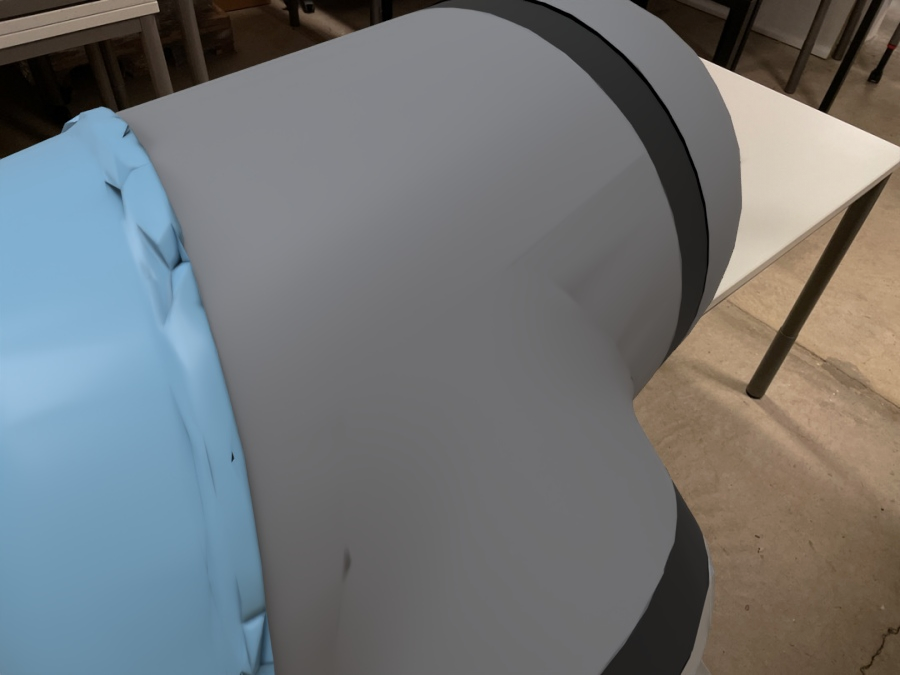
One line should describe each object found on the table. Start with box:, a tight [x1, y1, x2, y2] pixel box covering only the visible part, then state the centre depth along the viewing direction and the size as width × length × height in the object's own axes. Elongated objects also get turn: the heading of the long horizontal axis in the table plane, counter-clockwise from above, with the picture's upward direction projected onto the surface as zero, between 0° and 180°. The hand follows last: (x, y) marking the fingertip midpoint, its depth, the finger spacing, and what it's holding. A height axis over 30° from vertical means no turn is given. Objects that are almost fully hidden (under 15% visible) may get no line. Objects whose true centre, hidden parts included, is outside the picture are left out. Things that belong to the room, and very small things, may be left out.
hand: (430, 283), depth 64 cm, fingers closed
